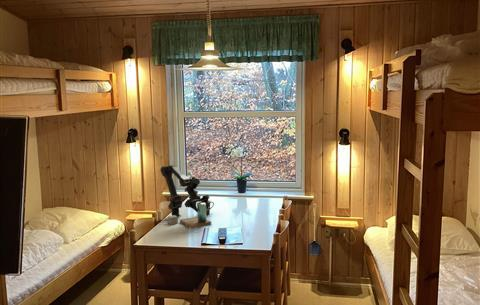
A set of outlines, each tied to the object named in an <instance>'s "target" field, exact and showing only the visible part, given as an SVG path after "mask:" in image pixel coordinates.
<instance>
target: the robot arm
mask: <svg viewBox="0 0 480 305" xmlns="http://www.w3.org/2000/svg"><path fill="white" fill-rule="evenodd" d="M160 173H161V175H162V176H163V177H164V179H165V181H166V184H167V187H168V188H167V189H168V191H169V195H170V198H169V204H168V205H167V208H168V209H169V210H171V211H170V212H171V215H175V216H177V218H179V216H180V217H181V216H182V215H180V208H181V209H182V207H183V199H182V196H181V195H179V194H178V193H177V188H176V186H175V183H174V179H173V175H174V176H175V177H176V178H177V179H178V180H179V182H178V183H179V184H180V185H181V187H184V192H185V193H187V194H188V199H186V201H185V203H184V206H185V207H186V208H189V209H190V208H191V209H192V210H194V211H195V213H198V209H197V203H199V201H201V202H205V203H206V208H207V210H208V209H209V208H208V200H209V199H210V195H209V194H206V195H202V197H201V195H199V194H198V193H199V192H198V191H197V190H196V189H197V187H198V186H199V185H200V183H201V181H200V179H199V178H196V177H195V176H192V177H191V178H190V177H189V176H188V175H185V174H184V173H183V172H182V171H181V170H180V169H179V168H178V167H177V165H176V164H167V165H162V166H161V167H160Z"/></svg>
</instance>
